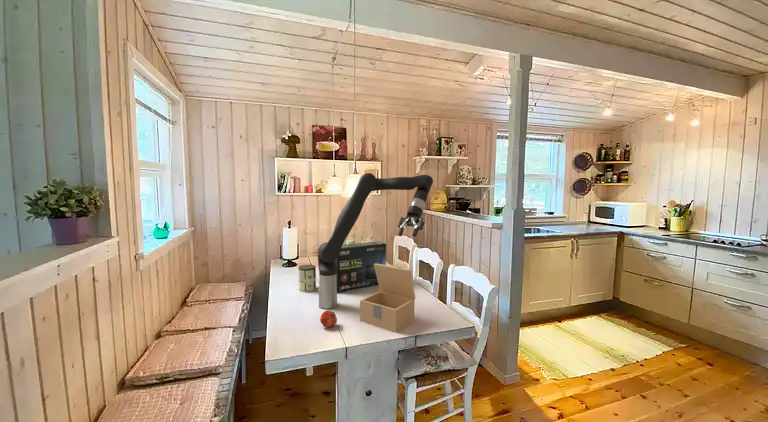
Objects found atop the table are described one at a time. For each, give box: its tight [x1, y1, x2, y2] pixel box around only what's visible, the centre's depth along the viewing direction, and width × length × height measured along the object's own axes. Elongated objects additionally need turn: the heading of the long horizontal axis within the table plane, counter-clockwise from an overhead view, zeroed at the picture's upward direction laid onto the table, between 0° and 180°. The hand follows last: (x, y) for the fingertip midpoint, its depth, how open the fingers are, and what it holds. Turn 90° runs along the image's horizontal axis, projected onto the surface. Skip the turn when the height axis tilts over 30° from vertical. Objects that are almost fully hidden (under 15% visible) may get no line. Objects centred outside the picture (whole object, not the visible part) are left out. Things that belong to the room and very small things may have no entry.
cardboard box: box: [359, 290, 416, 333], centre depth 153 cm, size 16×20×10 cm
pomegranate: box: [319, 310, 338, 329], centre depth 147 cm, size 7×7×10 cm
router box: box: [335, 240, 387, 294], centre depth 204 cm, size 36×11×27 cm, turn 123°
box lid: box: [374, 263, 416, 299], centre depth 157 cm, size 16×20×1 cm
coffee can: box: [297, 264, 317, 293], centre depth 198 cm, size 10×10×14 cm
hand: (406, 235), depth 164 cm, fingers open, 8 cm apart
